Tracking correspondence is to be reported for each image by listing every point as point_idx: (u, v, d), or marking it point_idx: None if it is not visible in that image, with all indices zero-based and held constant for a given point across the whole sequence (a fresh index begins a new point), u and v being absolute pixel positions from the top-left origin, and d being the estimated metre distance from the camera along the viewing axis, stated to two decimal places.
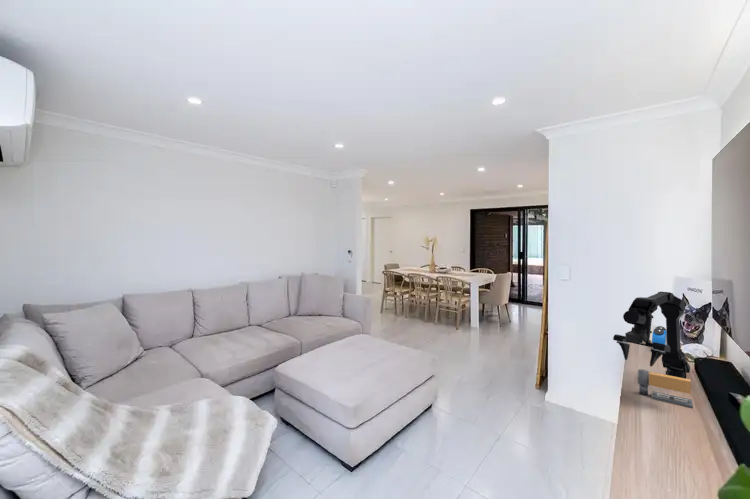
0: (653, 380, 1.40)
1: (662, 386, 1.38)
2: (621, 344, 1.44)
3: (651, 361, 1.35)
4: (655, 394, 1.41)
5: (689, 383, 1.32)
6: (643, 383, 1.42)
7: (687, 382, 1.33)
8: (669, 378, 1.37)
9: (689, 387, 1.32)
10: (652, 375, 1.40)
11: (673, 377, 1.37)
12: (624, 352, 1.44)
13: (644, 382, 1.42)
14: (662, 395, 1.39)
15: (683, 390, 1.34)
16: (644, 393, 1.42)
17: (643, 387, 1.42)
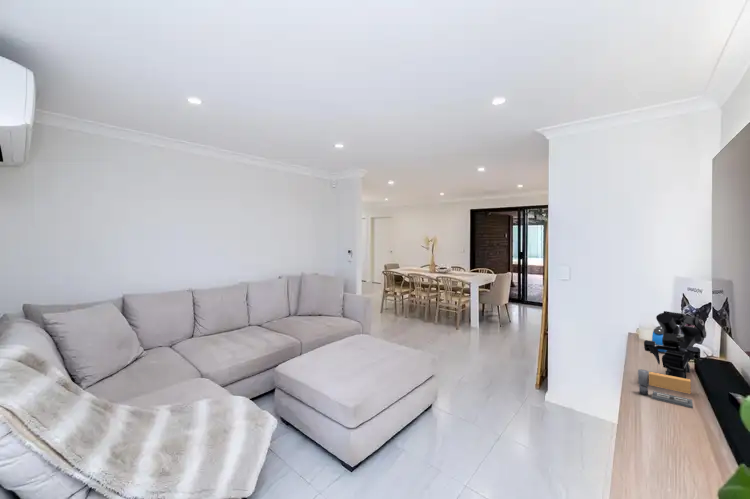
0: (653, 380, 1.40)
1: (662, 386, 1.38)
2: (655, 348, 1.48)
3: (684, 363, 1.40)
4: (655, 394, 1.41)
5: (689, 383, 1.32)
6: (643, 383, 1.42)
7: (687, 382, 1.33)
8: (669, 378, 1.37)
9: (689, 387, 1.32)
10: (652, 375, 1.40)
11: (673, 377, 1.37)
12: (657, 356, 1.47)
13: (644, 382, 1.42)
14: (662, 395, 1.39)
15: (683, 390, 1.34)
16: (644, 393, 1.42)
17: (643, 387, 1.42)
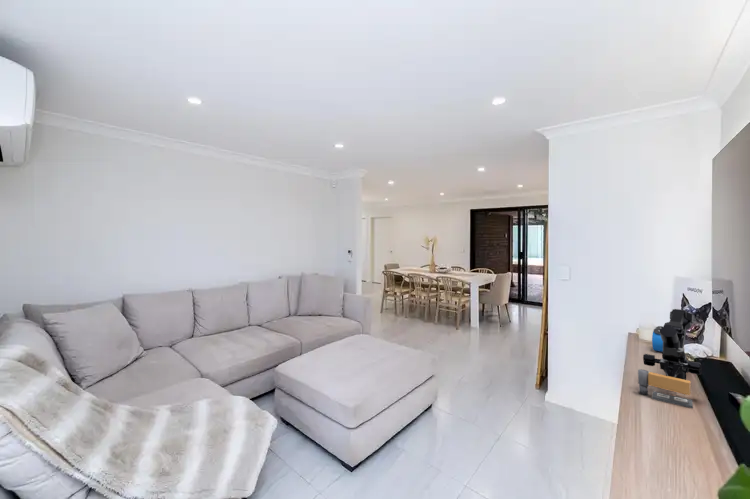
0: (652, 380, 1.40)
1: (661, 386, 1.38)
2: (666, 364, 1.41)
3: (672, 376, 1.38)
4: (655, 394, 1.41)
5: (688, 384, 1.31)
6: (642, 383, 1.42)
7: (686, 383, 1.32)
8: (668, 379, 1.36)
9: (688, 388, 1.31)
10: (651, 375, 1.40)
11: (673, 378, 1.36)
12: (669, 373, 1.39)
13: (643, 382, 1.42)
14: (662, 395, 1.39)
15: (682, 391, 1.33)
16: (644, 393, 1.42)
17: (643, 387, 1.42)
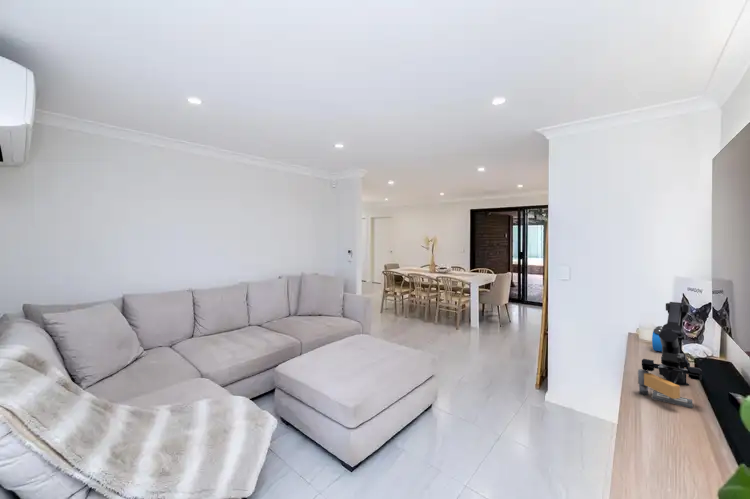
0: (647, 380, 1.40)
1: (653, 387, 1.37)
2: (665, 370, 1.36)
3: (672, 382, 1.33)
4: (655, 394, 1.41)
5: (671, 387, 1.29)
6: (639, 382, 1.43)
7: (670, 386, 1.29)
8: (658, 380, 1.35)
9: (671, 391, 1.29)
10: (646, 375, 1.40)
11: (663, 380, 1.34)
12: (668, 379, 1.34)
13: (640, 381, 1.43)
14: (662, 395, 1.39)
15: (667, 394, 1.31)
16: (644, 393, 1.42)
17: (643, 387, 1.42)
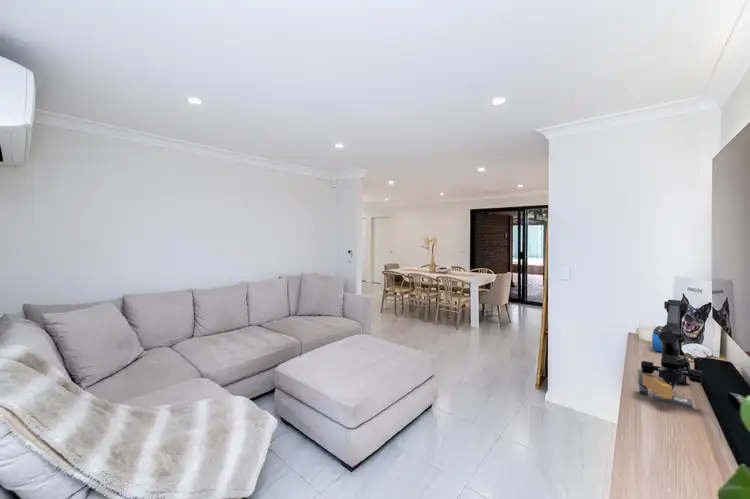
0: (644, 380, 1.40)
1: (649, 387, 1.38)
2: (665, 373, 1.33)
3: (672, 385, 1.31)
4: (655, 394, 1.41)
5: (662, 387, 1.29)
6: (639, 382, 1.44)
7: (661, 386, 1.30)
8: (652, 380, 1.35)
9: (662, 391, 1.29)
10: (644, 375, 1.41)
11: (658, 380, 1.34)
12: (668, 382, 1.32)
13: (639, 381, 1.43)
14: None
15: (659, 393, 1.31)
16: (644, 393, 1.42)
17: (643, 387, 1.42)
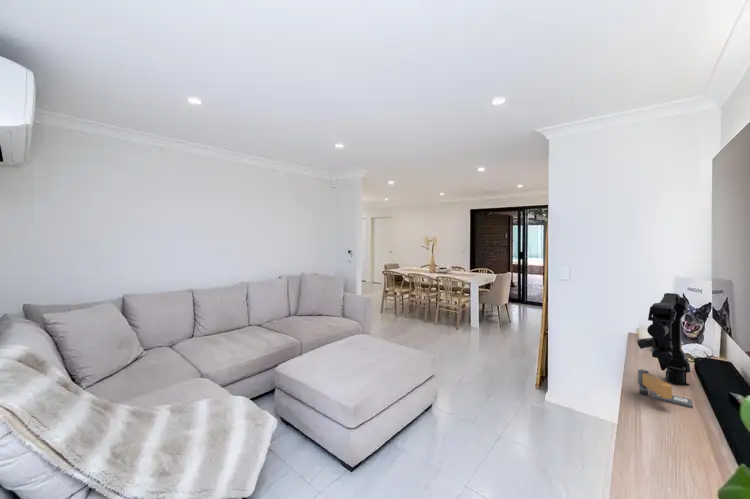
0: (644, 380, 1.40)
1: (649, 387, 1.38)
2: None
3: (660, 365, 1.39)
4: (655, 394, 1.41)
5: (662, 387, 1.29)
6: (639, 382, 1.44)
7: (661, 386, 1.30)
8: (652, 380, 1.35)
9: (662, 391, 1.29)
10: (644, 375, 1.41)
11: (658, 380, 1.34)
12: None
13: (639, 381, 1.43)
14: None
15: (659, 393, 1.31)
16: (644, 393, 1.42)
17: (643, 387, 1.42)
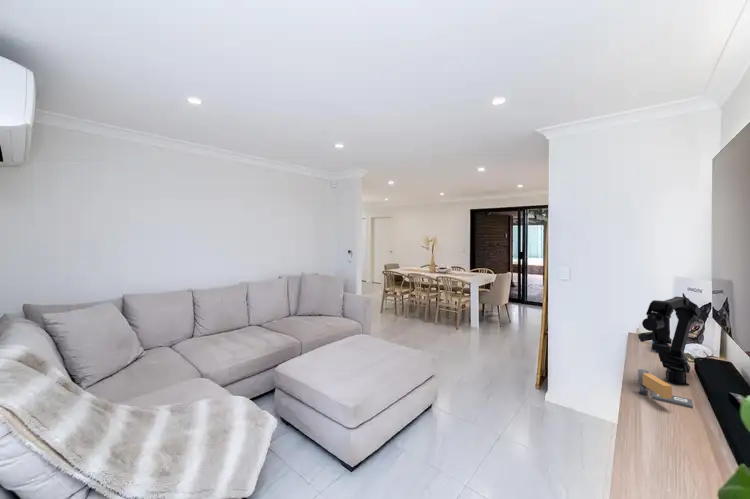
0: (644, 380, 1.40)
1: (649, 387, 1.38)
2: None
3: (659, 357, 1.49)
4: (655, 394, 1.41)
5: (662, 387, 1.29)
6: (639, 382, 1.44)
7: (661, 386, 1.30)
8: (652, 380, 1.35)
9: (662, 391, 1.29)
10: (644, 375, 1.41)
11: (658, 380, 1.34)
12: (659, 354, 1.50)
13: (639, 381, 1.43)
14: None
15: (659, 393, 1.31)
16: (644, 393, 1.42)
17: (643, 387, 1.42)
